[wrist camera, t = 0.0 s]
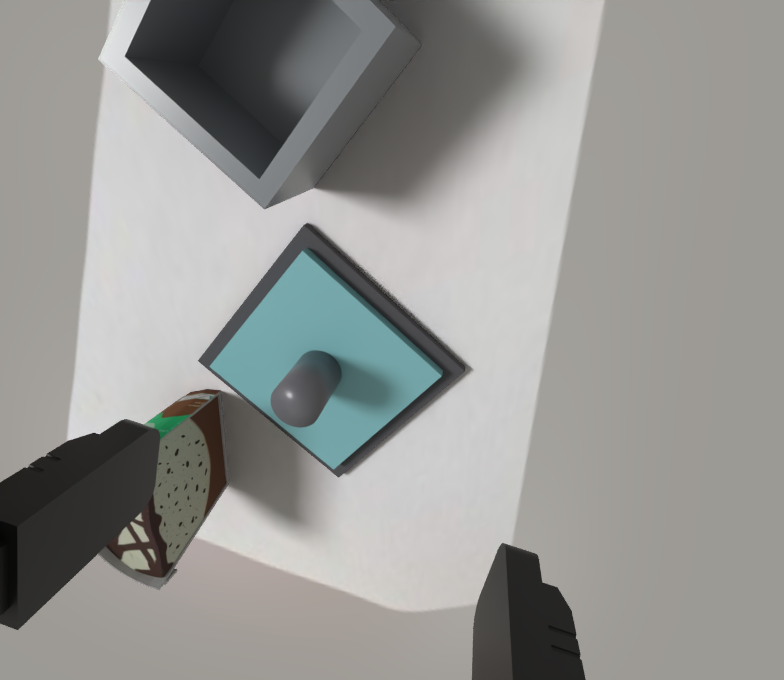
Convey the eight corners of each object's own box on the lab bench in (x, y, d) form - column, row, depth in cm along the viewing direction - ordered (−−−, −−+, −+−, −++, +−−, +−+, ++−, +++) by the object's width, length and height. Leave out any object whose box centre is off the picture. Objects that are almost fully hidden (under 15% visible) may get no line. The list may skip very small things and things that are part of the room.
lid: (306, 247, 32) (272, 272, 27) (443, 370, 34) (432, 413, 29) (214, 361, 37) (172, 398, 33) (336, 462, 39) (313, 512, 34)
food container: (146, 361, 40) (42, 435, 31) (219, 373, 39) (132, 454, 30) (166, 482, 45) (82, 575, 36) (230, 496, 44) (160, 595, 35)
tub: (276, -105, 25) (200, -172, 19) (422, 44, 27) (395, 26, 20) (184, 68, 30) (98, 59, 23) (313, 188, 31) (264, 209, 25)
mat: (307, 223, 32) (303, 225, 31) (465, 366, 34) (464, 371, 33) (202, 357, 38) (197, 360, 38) (340, 472, 40) (338, 477, 40)
